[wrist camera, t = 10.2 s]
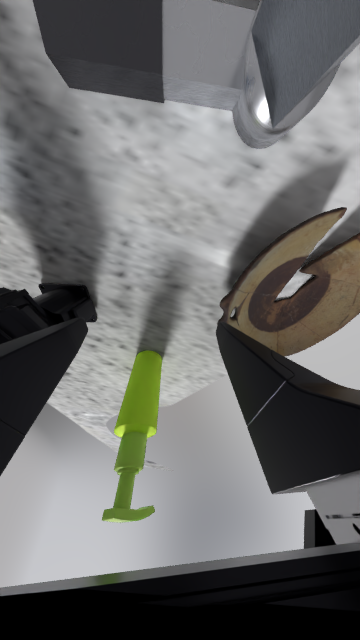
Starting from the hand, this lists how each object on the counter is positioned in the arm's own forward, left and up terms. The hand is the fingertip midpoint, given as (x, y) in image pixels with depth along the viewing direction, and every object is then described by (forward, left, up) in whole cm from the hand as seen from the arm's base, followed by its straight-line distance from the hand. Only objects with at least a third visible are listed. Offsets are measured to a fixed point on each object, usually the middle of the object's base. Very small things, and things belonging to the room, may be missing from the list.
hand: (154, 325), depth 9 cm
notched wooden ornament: (+23, -3, -13) cm, 27 cm away
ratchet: (+2, +17, -13) cm, 22 cm away
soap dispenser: (-3, -19, -13) cm, 23 cm away
